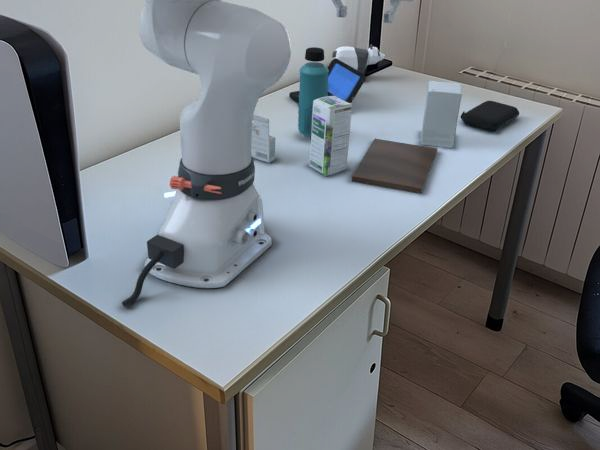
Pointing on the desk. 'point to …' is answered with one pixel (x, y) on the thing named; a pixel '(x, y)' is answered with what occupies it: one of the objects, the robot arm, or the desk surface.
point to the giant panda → (358, 56)
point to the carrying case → (490, 116)
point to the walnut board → (396, 165)
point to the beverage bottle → (311, 87)
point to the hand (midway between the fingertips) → (365, 19)
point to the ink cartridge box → (262, 140)
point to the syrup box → (330, 135)
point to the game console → (340, 81)
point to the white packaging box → (441, 114)
